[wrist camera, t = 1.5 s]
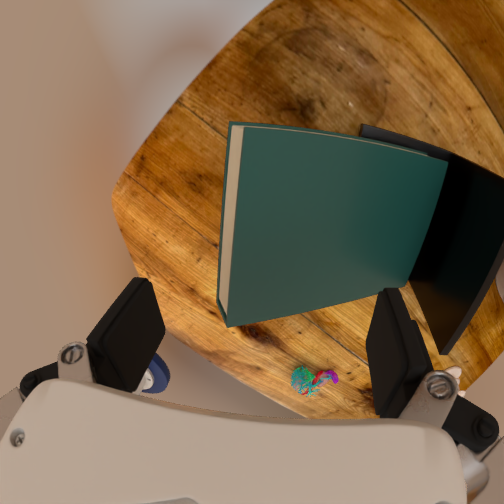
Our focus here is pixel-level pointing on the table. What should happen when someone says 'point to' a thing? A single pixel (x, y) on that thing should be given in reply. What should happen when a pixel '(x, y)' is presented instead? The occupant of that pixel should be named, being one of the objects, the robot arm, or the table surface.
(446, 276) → the book stand
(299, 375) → the anatomy model
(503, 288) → the coffee cup
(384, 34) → the table surface
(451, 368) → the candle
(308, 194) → the book
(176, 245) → the table surface
